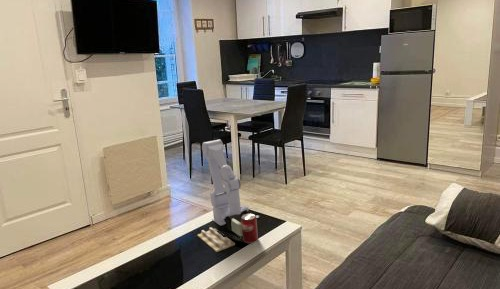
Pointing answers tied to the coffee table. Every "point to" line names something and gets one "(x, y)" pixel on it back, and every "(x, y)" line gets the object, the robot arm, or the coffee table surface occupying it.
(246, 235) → the soda can
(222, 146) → the robot arm
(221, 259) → the coffee table surface
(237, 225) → the door panel
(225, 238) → the door track
